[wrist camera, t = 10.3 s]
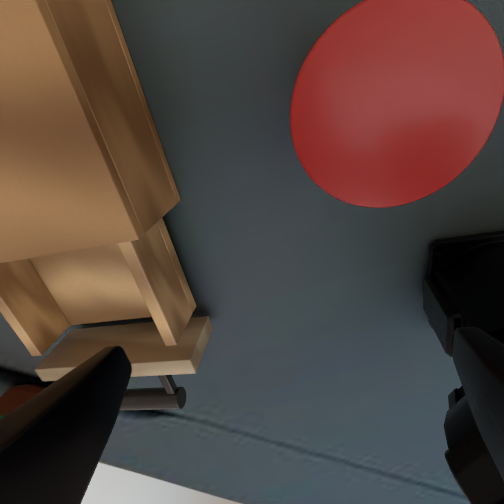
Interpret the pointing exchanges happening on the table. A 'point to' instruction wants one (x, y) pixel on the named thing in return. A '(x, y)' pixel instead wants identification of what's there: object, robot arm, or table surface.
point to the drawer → (110, 312)
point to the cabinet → (74, 133)
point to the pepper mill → (396, 99)
